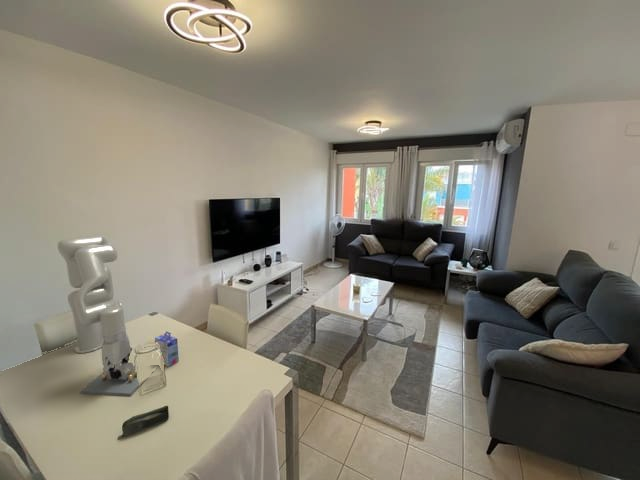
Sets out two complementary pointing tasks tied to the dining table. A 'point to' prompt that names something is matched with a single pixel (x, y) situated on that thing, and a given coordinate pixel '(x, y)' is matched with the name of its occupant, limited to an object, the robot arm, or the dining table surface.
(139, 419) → the mobile phone
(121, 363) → the block
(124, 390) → the pin tray
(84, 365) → the dining table surface
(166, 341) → the ink cartridge box
